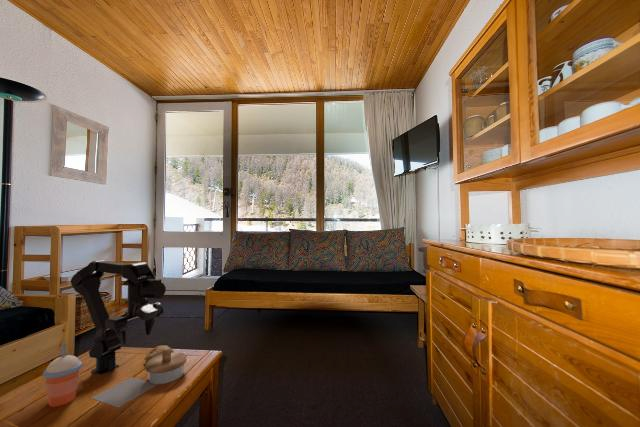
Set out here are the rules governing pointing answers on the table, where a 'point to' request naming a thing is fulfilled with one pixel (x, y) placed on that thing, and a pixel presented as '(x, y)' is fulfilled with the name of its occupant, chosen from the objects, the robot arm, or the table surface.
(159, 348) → the bread roll
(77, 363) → the cup with straw
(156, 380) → the bowl
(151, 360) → the lid
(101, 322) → the robot arm
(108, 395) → the mat
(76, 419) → the table surface
